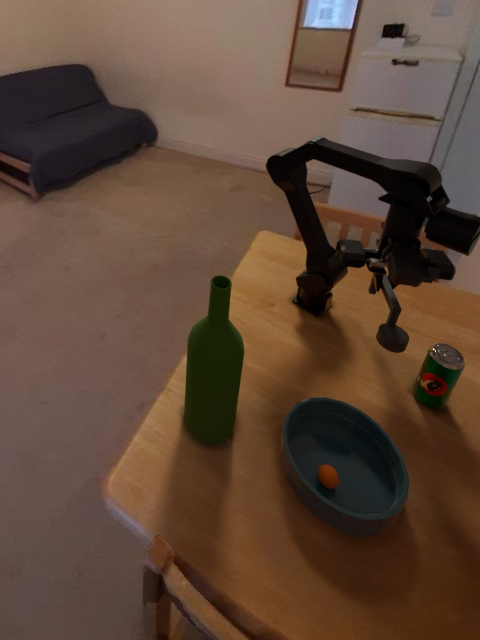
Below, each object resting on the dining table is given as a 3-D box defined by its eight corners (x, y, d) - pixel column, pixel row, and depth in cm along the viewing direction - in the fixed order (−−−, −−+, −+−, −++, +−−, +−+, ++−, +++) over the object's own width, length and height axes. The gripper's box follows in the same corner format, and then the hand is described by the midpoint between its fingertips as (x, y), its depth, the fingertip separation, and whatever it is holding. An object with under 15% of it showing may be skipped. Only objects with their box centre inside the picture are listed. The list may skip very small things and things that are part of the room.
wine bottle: (236, 403, 75) (254, 267, 61) (232, 453, 68) (251, 311, 54) (188, 389, 78) (195, 256, 64) (179, 436, 71) (185, 296, 56)
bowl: (257, 459, 67) (261, 440, 64) (314, 398, 76) (320, 378, 73) (364, 572, 54) (374, 552, 52) (418, 482, 63) (429, 462, 61)
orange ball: (312, 479, 63) (315, 468, 62) (322, 466, 65) (325, 455, 64) (330, 497, 61) (334, 487, 60) (340, 483, 63) (344, 473, 61)
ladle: (409, 355, 73) (420, 328, 70) (380, 350, 74) (389, 322, 71) (383, 292, 87) (391, 267, 84) (358, 289, 88) (366, 264, 85)
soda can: (450, 413, 72) (473, 368, 67) (418, 408, 73) (439, 363, 68) (436, 387, 77) (457, 343, 71) (406, 382, 78) (424, 339, 72)
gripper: (356, 247, 70) (339, 313, 77) (484, 263, 66) (453, 331, 72) (343, 213, 80) (328, 273, 87) (453, 224, 75) (429, 287, 82)
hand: (381, 291), depth 82 cm, fingers closed on ladle
